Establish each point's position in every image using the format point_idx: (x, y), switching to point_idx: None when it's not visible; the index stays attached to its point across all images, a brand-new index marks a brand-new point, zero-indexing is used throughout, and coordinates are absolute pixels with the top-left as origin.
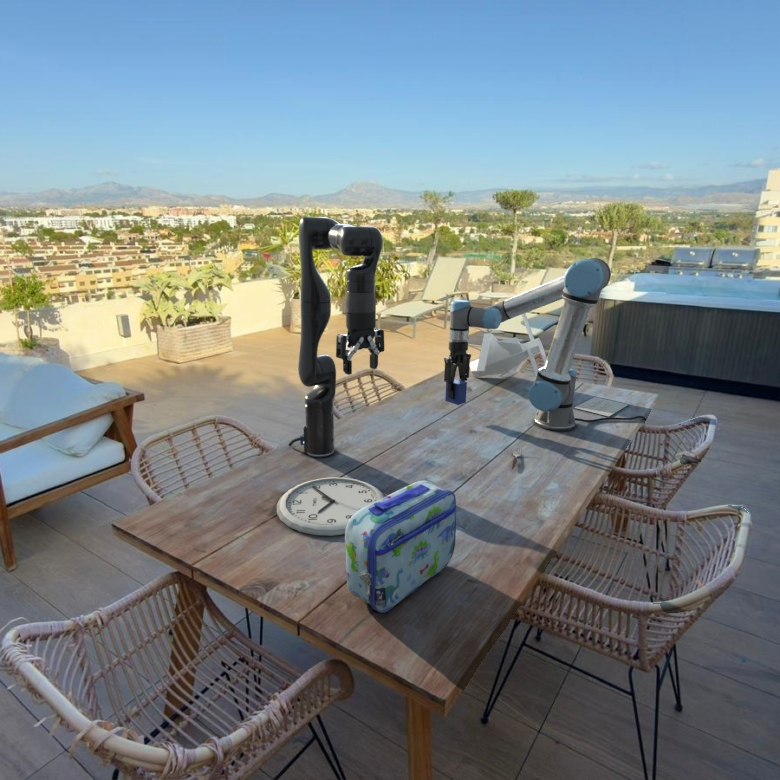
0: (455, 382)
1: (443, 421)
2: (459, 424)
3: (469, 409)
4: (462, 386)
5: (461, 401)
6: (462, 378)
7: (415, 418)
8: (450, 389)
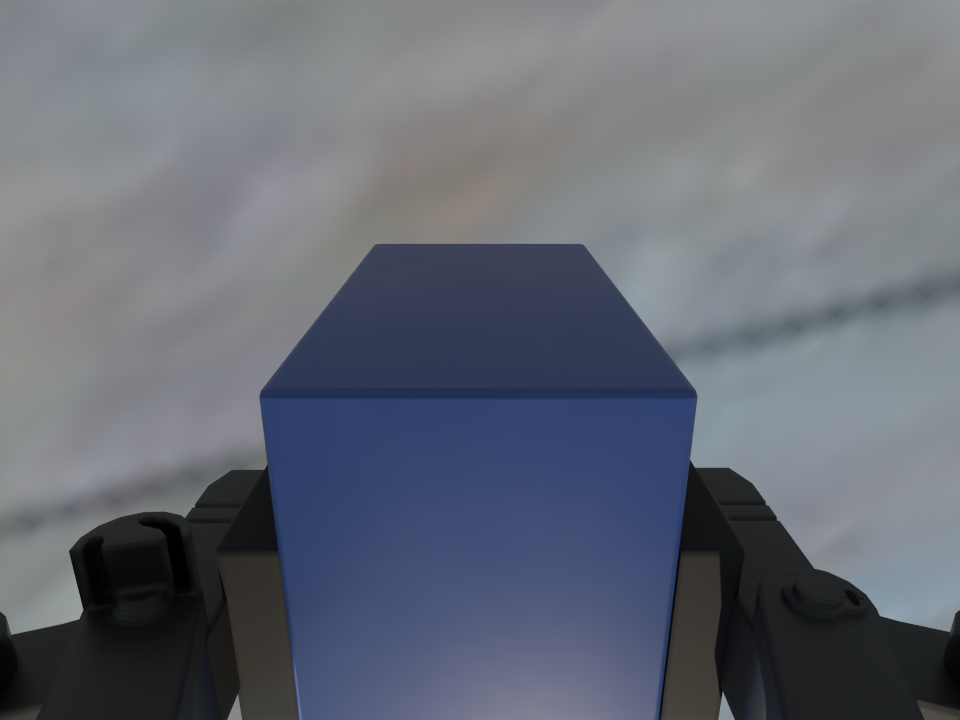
0: (605, 594)
1: (767, 251)
2: (710, 32)
3: (170, 342)
4: (497, 352)
5: (494, 254)
6: (203, 670)
7: (908, 511)
8: (756, 491)
